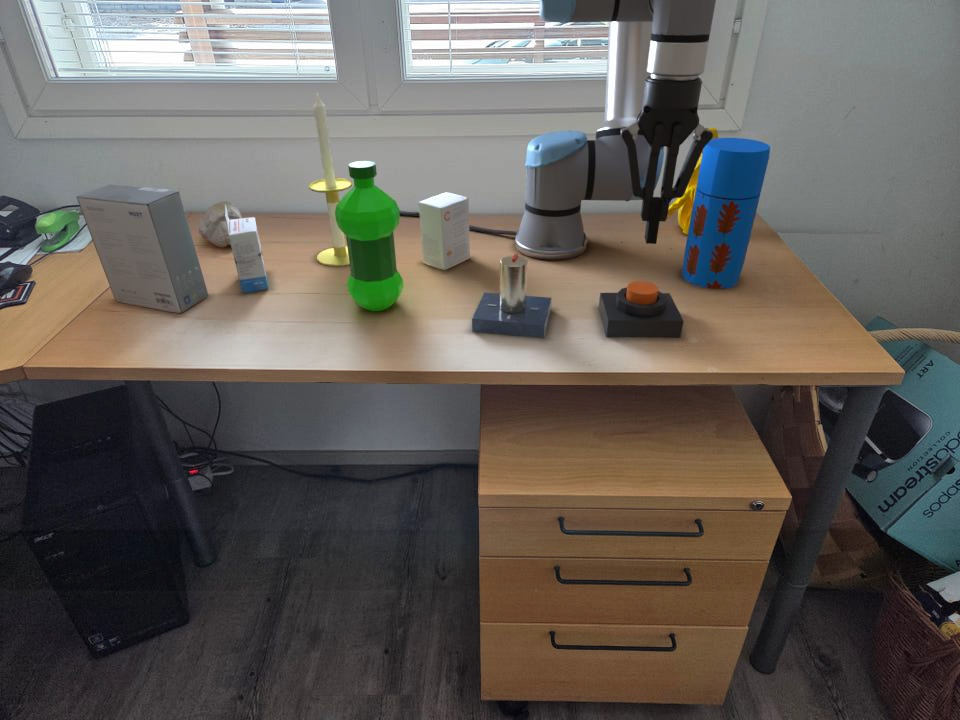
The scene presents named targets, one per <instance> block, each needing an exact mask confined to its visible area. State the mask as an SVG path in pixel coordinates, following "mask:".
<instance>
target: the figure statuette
mask: <svg viewBox="0 0 960 720" xmlns="http://www.w3.org/2000/svg"><path fill="white" fill-rule="evenodd" d="M707 128H708V129H709V130H710V131H711V132H712V133H713V138H712V139H716V138H719V134H718V132H719V131H718V129H717V128H715V127H707ZM703 150H704V148H703ZM703 150H702V153H701V155H700V158H699V160H698V162H697V165H696V167H695V169H694V172H693V174H692V176H691V179H690V181H689V184H688V186H687V188H686V191H685V193H684V195H683V197H681V198H678V197H677V198H675V200H674V201H673V202H672V204H670V205H669V209H668V215H667V219H668V218H669V217H671V216H672V215H673V214H674V213H676V212H677V222H678V225H679V227H680V229H682V233H683V234H684V235H687V236H688V231H689V226H690V220H691V215H692V209H693V203H694V198H695V192H696V188H697V181H698V176H699V170H700V165H701V159H702V154H703Z"/></svg>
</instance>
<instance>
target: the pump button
mask: <svg viewBox="0 0 960 720" xmlns="http://www.w3.org/2000/svg"><path fill="white" fill-rule="evenodd" d="M626 287H627V293H626V299H627V300H629V301H630V302H633V303H637V304H652V303H655V302H656V301H657V296H658V291H660V290H659V286H658V285H656V284H655V283H653V282H651V281H645V280H635V281H631V282H629V283H628V284H627V286H626Z"/></svg>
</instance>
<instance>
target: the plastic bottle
mask: <svg viewBox="0 0 960 720" xmlns="http://www.w3.org/2000/svg"><path fill="white" fill-rule="evenodd" d="M347 166H348V173H349V177H350V178H351V179H353V187H351V188H350V189H349V190H348V192H347V193H346V194H345V195H344V196H343V197H342V198H341V199H340V200H339V203H338V204H337V206H336V210H335V218H336V222H337V225H338V227H339V229H340V230H341V231H342V232H343V233H344V236H345V238H346V239H345V241H346V246H347V247H348V255H349V262H350V265H349V269H350V274H349V277H348V278H347V283H346V288H347V292H348V294H349V295H350V297H351V298H352V299H353V301H354V303H356V304H357V305H358V306H360V307H362V308H364V309H365V310H367V311H371V312H380V311H385V310H387V309H389V308H391V306H392V305H393V304H394V303H396V302H397V301H398V299H399V297H400V296H401V294H402V292H403V289H404V279H403V277H402V275H401V273H400V272H399V271H398V269H397V258H396V257H397V256H396V247H395V234H394V231H395V230H396V228H397V227H398V226H399V224H400V219H401V218H400V216H401V214H399V210H400V208H399V205H398V204H397V201H396V200H395V199H394V198H393V197H391V196H390V195H389V194H388V193H386V192H385V191H384V190H382V189H381V187H379V186H377V185H375V177H376V176H377V174H378V173H377V164H376V162H374V161H371V160H357V161H353V162H350V163H349V164H348V165H347Z"/></svg>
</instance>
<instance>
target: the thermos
mask: <svg viewBox="0 0 960 720" xmlns="http://www.w3.org/2000/svg"><path fill="white" fill-rule="evenodd" d="M770 154H771V146H770V145H769V144H768V143H766V142H763V141H760V140H755V139H752V138H751V139H750V138H744V137H743V138H742V137H718V138H716V139H711V140H710V141H709V143H708V144H707V145H706V146H705V147H704V150H703V154H702V159H701V165H700V170H699V176H698V181H697V188H696V192H695V198H694V203H693V209H692V215H691V220H690V226H689V231H688V235H687V236H686V243H685V247H684V248H685V249H684V253H683V261H682V269H681V276H682V278H683V279H684V280H685V281H686V282H687V283H689V284H691V285H693V286H697V287H700V288H703V289H711V290H723V289H730V288H733V287H735V286H737V285H738V283H739V280H740V277H741V274H742V272H743V271H742V270H743V267H744V264H745V260H746V256H747V252H748V248H749V243H750V240H751V235H752V231H753V227H754V223H755V218H756V214H757V211H758V206H759V201H760V199H761V198H760V197H761V193H762V189H763V185H764V181H765V177H766V172H767V168H768V165H769V160H770Z"/></svg>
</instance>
